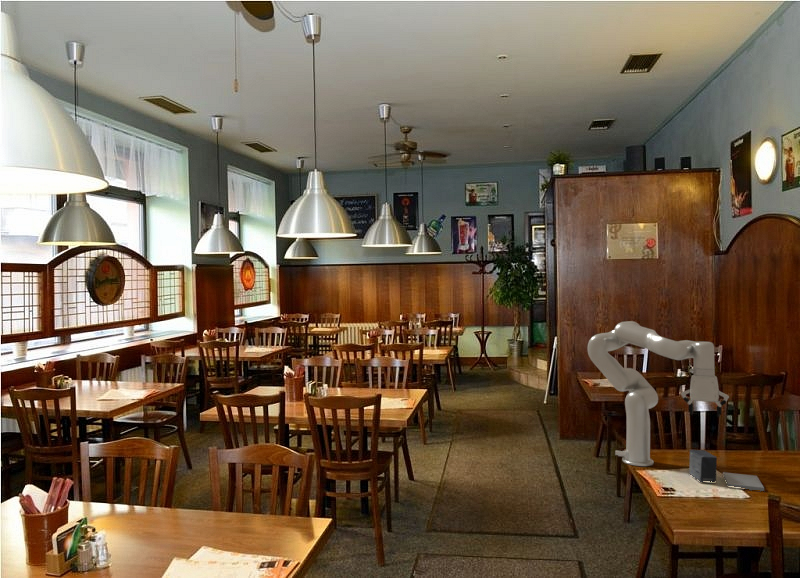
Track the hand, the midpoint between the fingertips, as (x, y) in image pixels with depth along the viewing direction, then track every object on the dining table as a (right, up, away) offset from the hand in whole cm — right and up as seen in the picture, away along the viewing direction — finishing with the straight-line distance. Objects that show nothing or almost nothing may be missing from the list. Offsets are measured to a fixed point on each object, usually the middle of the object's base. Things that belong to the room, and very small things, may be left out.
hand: (704, 415), depth 245 cm
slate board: (+11, -25, -8) cm, 28 cm away
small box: (-2, -25, -2) cm, 25 cm away
